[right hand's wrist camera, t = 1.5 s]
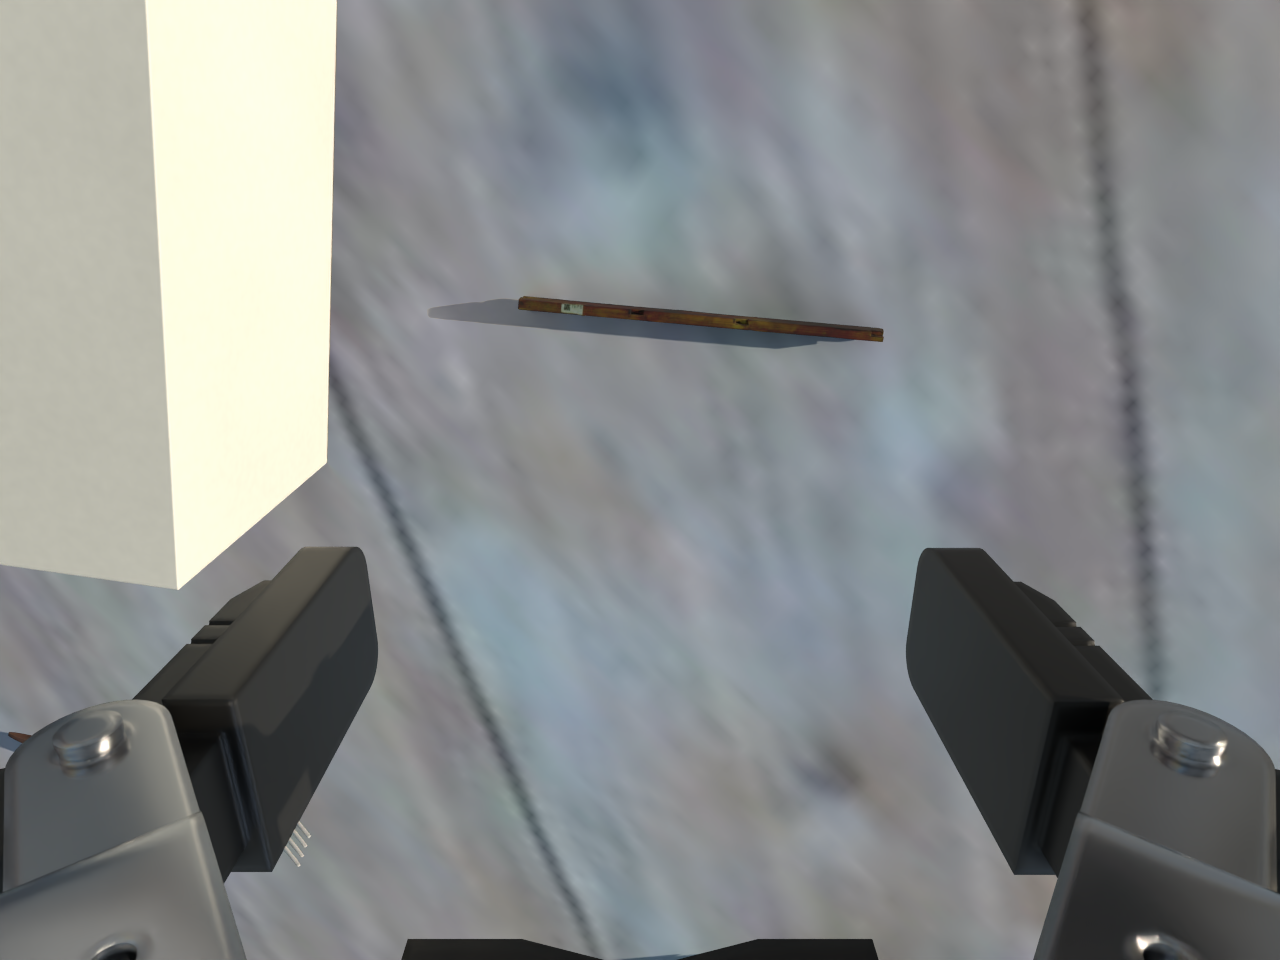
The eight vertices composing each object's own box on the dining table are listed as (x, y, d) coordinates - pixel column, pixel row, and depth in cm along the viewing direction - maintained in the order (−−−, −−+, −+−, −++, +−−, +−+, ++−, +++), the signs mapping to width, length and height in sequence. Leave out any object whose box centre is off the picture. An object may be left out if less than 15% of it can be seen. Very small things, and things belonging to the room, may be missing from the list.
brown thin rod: (882, 327, 32) (889, 331, 31) (880, 338, 32) (887, 342, 31) (521, 296, 32) (518, 298, 31) (521, 306, 32) (517, 310, 31)
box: (327, 463, 35) (178, 590, 24) (191, 442, 34) (-25, 561, 23) (343, -307, 25) (109, -696, 14) (156, -345, 25) (-233, -774, 14)
